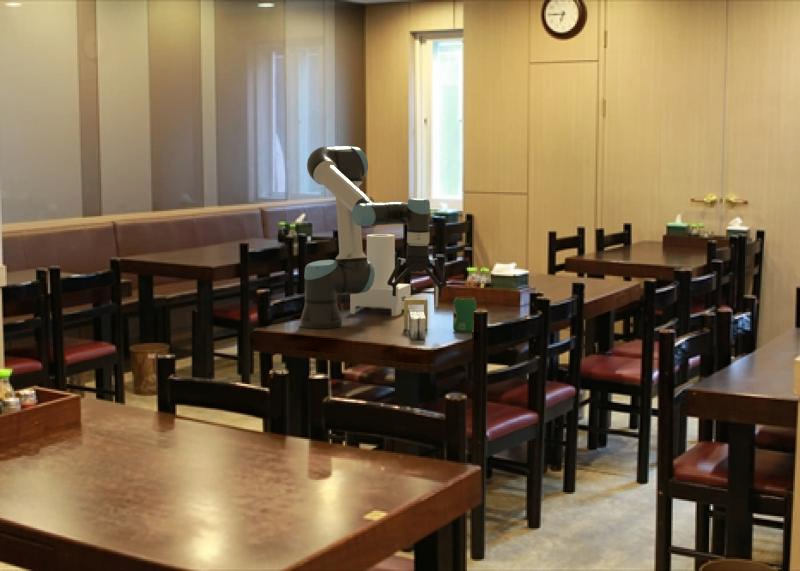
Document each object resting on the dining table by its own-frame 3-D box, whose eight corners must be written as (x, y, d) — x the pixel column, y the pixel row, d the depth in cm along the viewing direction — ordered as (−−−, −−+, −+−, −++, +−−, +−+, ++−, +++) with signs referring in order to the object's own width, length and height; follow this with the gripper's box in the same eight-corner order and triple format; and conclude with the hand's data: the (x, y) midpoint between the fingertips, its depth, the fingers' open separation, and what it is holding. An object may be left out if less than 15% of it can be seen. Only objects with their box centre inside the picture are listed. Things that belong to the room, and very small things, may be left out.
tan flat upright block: (404, 328, 408) (404, 298, 407) (427, 328, 409) (427, 298, 407) (404, 329, 406) (404, 299, 405) (427, 329, 406) (427, 299, 405)
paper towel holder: (350, 313, 444) (349, 236, 440) (366, 306, 462) (365, 232, 458) (396, 316, 438) (396, 238, 434) (410, 309, 456) (410, 233, 452)
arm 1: (409, 330, 404) (409, 310, 403) (415, 330, 404) (415, 310, 403) (411, 339, 386) (411, 319, 385) (418, 339, 386) (418, 319, 385)
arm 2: (416, 330, 404) (416, 310, 403) (423, 330, 404) (423, 310, 403) (418, 339, 386) (418, 319, 385) (425, 339, 386) (425, 319, 385)
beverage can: (451, 329, 407) (452, 296, 405) (474, 329, 407) (474, 296, 406) (454, 333, 399) (454, 299, 397) (477, 333, 399) (477, 299, 398)
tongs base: (408, 328, 409) (408, 309, 408) (422, 328, 409) (422, 309, 408) (409, 330, 406) (409, 310, 405) (422, 330, 406) (422, 310, 405)
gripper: (381, 245, 383) (380, 307, 386) (455, 246, 383) (453, 308, 387) (381, 242, 390) (379, 303, 393) (454, 243, 391) (452, 304, 394)
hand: (416, 306), depth 390 cm, fingers open, 13 cm apart
